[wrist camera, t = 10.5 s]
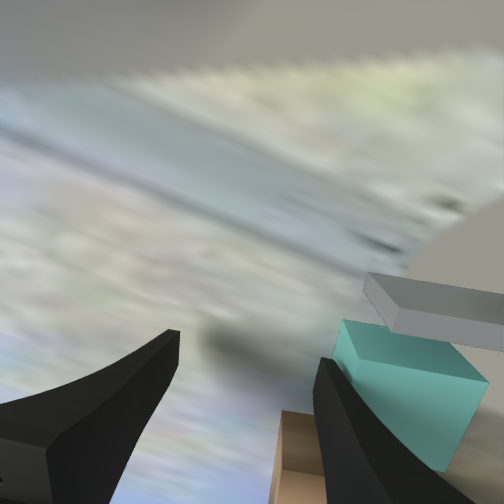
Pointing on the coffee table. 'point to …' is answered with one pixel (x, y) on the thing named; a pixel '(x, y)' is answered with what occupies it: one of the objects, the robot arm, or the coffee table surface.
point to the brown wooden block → (298, 462)
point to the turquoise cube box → (412, 387)
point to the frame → (438, 311)
